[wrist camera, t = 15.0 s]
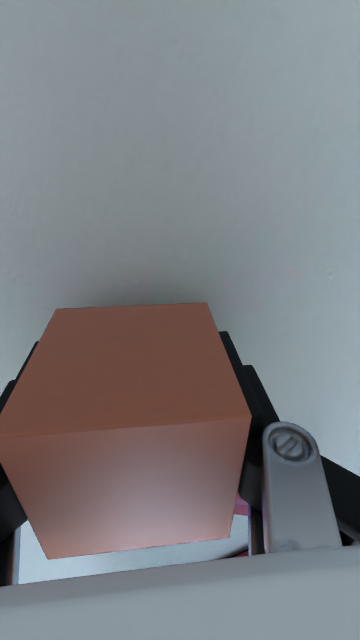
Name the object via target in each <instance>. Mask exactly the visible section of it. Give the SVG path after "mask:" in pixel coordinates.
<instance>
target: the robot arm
mask: <svg viewBox="0 0 360 640" xmlns="http://www.w3.org/2000/svg"><path fill="white" fill-rule="evenodd" d="M218 333H219V335H220V338H221V340H222V343H223V345H224V348H225V350H226V353H227V355H228V358H229V360H230V363H231V365H232V368H233V370H234V373H235V375H236V378H237V380H238V383H239V385H240V388H241V390H242V393H243V395H244V398H245V400H246V403H247V405H248V408H249V410H250V413H251V415H252V417H251V423H250V428H249V433H248V439H247V444H246V450H245V455H244V460H243V466H242V471H241V477H240V482H239V487H238V493H239V496H240V498H241V499H242V500H244V501H245V502H247V503H248V542H249V556H243V557H235V558H227V559H218V560H210V561H202V562H193V563H185V564H177V565H169V566H161V567H153V568H145V569H137V570H129V571H121V572H113V573H105V574H97V575H89V576H81V577H73V578H65V579H57V580H49V581H42V582H34V583H27V584H19V585H18V581H19V557H20V533H21V527H20V526H21V525H22V524H23V523H24V522H26V521H27V519H28V518H27V516H26V514H25V512H24V510H23V508H22V506H21V504H20V502H19V500H18V498H17V495H16V493H15V491H14V489H13V487H12V485H11V483H10V481H9V479H8V477H7V475H6V473H5V471H4V469H3V467H2V465H1V463H0V640H360V477H359V476H358V475H356V474H354V473H352V472H350V471H348V470H347V469H345V468H343V467H341V466H339V465H338V464H336V463H334V462H332V461H330V460H329V459H327V458H325V457H323V456H321V455H320V453H319V449H318V446H317V444H316V441H315V439H314V438H313V437H312V436H311V434H310V433H309V432H307V431H306V430H305V429H304V428H302V427H300V426H298V425H296V424H294V423H290V422H280V420H279V418H278V416H277V414H276V412H275V410H274V408H273V406H272V404H271V402H270V400H269V398H268V396H267V393H266V391H265V389H264V387H263V385H262V383H261V381H260V379H259V377H258V375H257V373H256V371H255V369H254V368H253V366H252V365H242V363H241V360H240V358H239V356H238V354H237V351H236V349H235V347H234V345H233V342H232V340H231V338H230V336H229V334H228V332H227V331H221V332H218ZM38 342H39V341H36V343H35V344H34V346H33V348H32V350H31V352H30V353H29V355H28V357H27V359H26V361H25V362H24V364H23V366H22V368H21V370H20V372H19V373H18V375H17V377H16V379H15V380H12V381H10V382H9V383H8V384H7V386H6V388H5V390H4V391H3V393H2V395H1V397H0V414H1V412H2V410H3V408H4V406H5V405H6V403H7V401H8V399H9V397H10V395H11V393H12V391H13V389H14V388H15V386H16V384H17V382H18V380H19V378H20V376H21V374H22V373H23V371H24V369H25V367H26V365H27V363H28V361H29V359H30V357H31V356H32V354H33V352H34V350H35V348H36V346H37V344H38Z"/></svg>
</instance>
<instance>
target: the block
mask: <svg viewBox="0 0 360 640" xmlns="http://www.w3.org/2000/svg"><path fill="white" fill-rule="evenodd" d="M251 417H252V415H251V413H250V410H249V408H248V405H247V403H246V400H245V398H244V395H243V393H242V390H241V388H240V385H239V383H238V380H237V378H236V375H235V373H234V370H233V368H232V365H231V363H230V360H229V358H228V355H227V353H226V350H225V348H224V345H223V343H222V340H221V338H220V335H219V333H218V330H217V328H216V325H215V323H214V320H213V318H212V315H211V313H210V310H209V308H208V305H207V303H181V304H158V305H134V306H111V307H87V308H64V309H56V310H55V312H54V314H53V316H52V318H51V320H50V322H49V324H48V325H47V327H46V329H45V331H44V333H43V335H42V337H41V339H40V340H39V342H38V344H37V346H36V348H35V350H34V352H33V354H32V356H31V357H30V359H29V361H28V363H27V365H26V367H25V369H24V371H23V373H22V374H21V376H20V378H19V380H18V382H17V384H16V386H15V388H14V389H13V391H12V393H11V395H10V397H9V399H8V401H7V403H6V405H5V406H4V408H3V410H2V412H1V414H0V463H1V465H2V467H3V469H4V471H5V473H6V475H7V477H8V479H9V481H10V483H11V485H12V487H13V489H14V491H15V493H16V495H17V498H18V500H19V502H20V504H21V506H22V508H23V510H24V512H25V514H26V516H27V518H28V520H29V522H30V524H31V526H32V528H33V531H34V533H35V535H36V537H37V539H38V541H39V543H40V545H41V547H42V549H43V551H44V553H45V555H46V557H47V559H49V560H50V559H58V558H66V557H75V556H83V555H92V554H100V553H108V552H117V551H125V550H134V549H142V548H150V547H159V546H167V545H175V544H184V543H192V542H201V541H209V540H217V539H226V538H229V536H230V530H231V525H232V520H233V514H234V509H235V503H236V498H237V493H238V487H239V482H240V477H241V471H242V466H243V460H244V455H245V450H246V444H247V439H248V433H249V428H250V423H251Z"/></svg>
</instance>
